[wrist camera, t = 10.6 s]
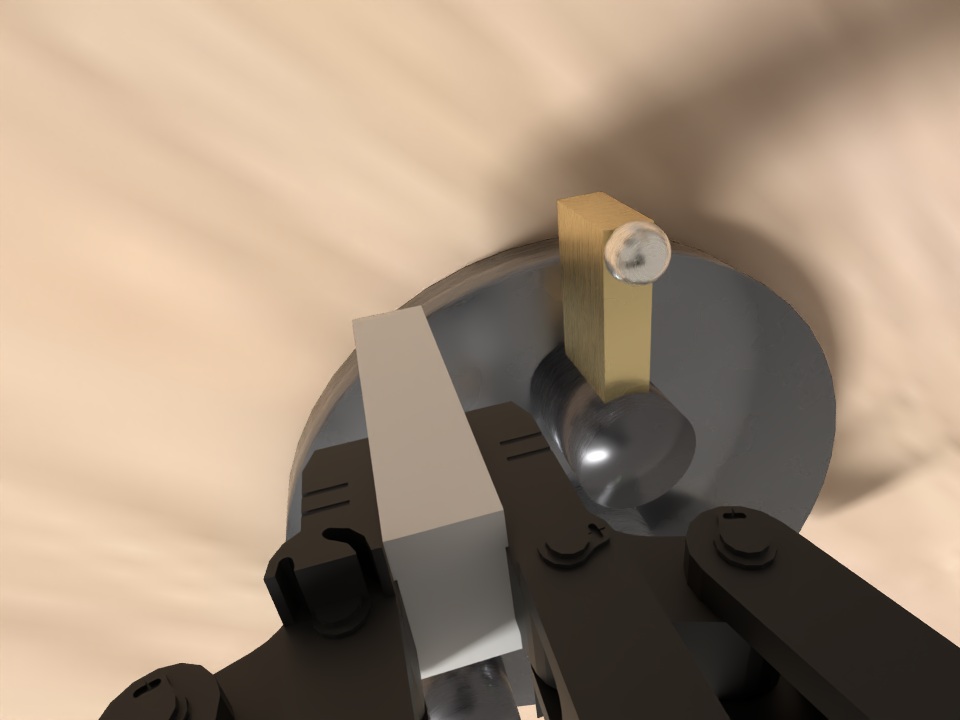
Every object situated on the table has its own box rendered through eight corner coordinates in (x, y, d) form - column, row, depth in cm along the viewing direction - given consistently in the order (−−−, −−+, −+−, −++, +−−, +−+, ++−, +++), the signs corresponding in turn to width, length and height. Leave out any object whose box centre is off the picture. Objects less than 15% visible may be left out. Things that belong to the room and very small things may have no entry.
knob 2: (626, 412, 20) (699, 500, 16) (534, 435, 19) (588, 532, 16) (628, 172, 16) (726, 216, 12) (513, 194, 15) (578, 247, 12)
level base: (404, 129, 16) (473, 202, 9) (894, 329, 24) (1124, 447, 17) (225, 656, 24) (192, 908, 17) (644, 675, 32) (736, 851, 25)
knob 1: (393, 624, 22) (411, 747, 18) (473, 588, 22) (507, 702, 18) (465, 724, 26) (491, 841, 22) (533, 693, 26) (570, 804, 22)
